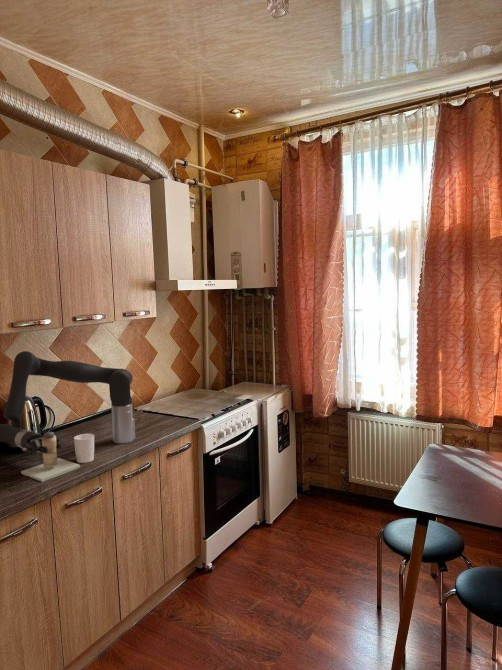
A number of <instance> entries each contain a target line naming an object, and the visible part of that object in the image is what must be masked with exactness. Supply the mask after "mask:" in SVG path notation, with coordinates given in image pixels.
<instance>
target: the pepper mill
mask: <svg viewBox="0 0 502 670" xmlns="http://www.w3.org/2000/svg"><path fill="white" fill-rule="evenodd" d="M56 437H57V436H56V435H55V432H53V431H48V432H44V433H43V437H42V446H44V447H47V449H48V453H42V461H43V462H42V464H43V466H44V467H52V466H55V465H57V459H58V451H57V450H58V449H57V446H56Z"/></svg>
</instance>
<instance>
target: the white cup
mask: <svg viewBox="0 0 502 670" xmlns="http://www.w3.org/2000/svg"><path fill="white" fill-rule="evenodd" d="M73 442H74V443H73V445H74V453H75V457H76V462H77V464H85V463H90V462H93V461H94V460H95V457H94V456H95V434H93V433H83V434H79V435H78V434H77V435H76V436H74V437H73Z"/></svg>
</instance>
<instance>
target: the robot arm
mask: <svg viewBox="0 0 502 670" xmlns="http://www.w3.org/2000/svg"><path fill="white" fill-rule="evenodd" d="M12 369H13V370H12V377H11V384H10V388H9V393H8V397H7V401H6V404H5V408H4V411H3V417H4V419H7V420H8V421H9V422H10V421H11V422H10V424H7V423H6V424H5V423H3V424H2V423H1V424H0V442H2V443H7V444H9V445H13V446H15V447H16V446H17V447H19V448H20V449H22V452H23V453H28V454H36V453H42V454H43V453H48V449H47V447H44V446H42V437H44V435H42V434H41V433H39V432H36V431H33V430H29V429H23V427H22V426H23V425H22V421H23V419H22V418H23V417H22V416H23V413H24V408H25V404H26V398H27V384H28V379H29V376H38V377H48V378H54V379H57V380H63V381H67V382H71V383H72V382H73V383H77V384H78V383H79V384H81V383H82V384H88V383H89V384H91V383H94V384H95V383H101V384H107V385H108V386H109V387H108V389H109V399H110V402H111V421H112V424H111V425H112V426H111V427H112V443H115V444H127V443H131V442H133V441H134V440H135V439H136V424H135V418H133V417H134V416H133V415H134V414H133V412H134V411H133V398H132V395H131V384H132V382H133V374H132V373H131V372H130V371H129V370H127V369H124V368H116V367H115V368H114V367H103V366H99V365H94V364H90V363H87V362H86V363H85V362H81V361H75V360H74V361H73V360H56V361H55V360H48V359H43V358H39V357H37V356H36V355H35V354H34V353H32V352H30V351H27V350H25V351H21V352H19V353H17V354H16V356H15V357H14V360H13V368H12ZM11 423H12V426H11ZM56 446H57V450H61V449H62V443H61V442H60V438H58V437H57V436H56Z"/></svg>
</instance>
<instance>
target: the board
mask: <svg viewBox="0 0 502 670" xmlns="http://www.w3.org/2000/svg"><path fill="white" fill-rule="evenodd" d="M79 468H81V464H80V463H75V462H72V461H69V460H66V459H63V458H60V457H57V465H55V466H52V467H44V466H43V463H41V464H39V465H36V466H33V467H30V468H26V469H24V470H21V471H20V473H21V475H23V476H26V477H28V476H29V478H31V479H34V480H37V481H39V482H42V483H43V482H45V481H48V480H52V479H54V478H56V477H59V476H61V475H64V474H67V473H69V472H72V471H75V470H77V469H79Z"/></svg>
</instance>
